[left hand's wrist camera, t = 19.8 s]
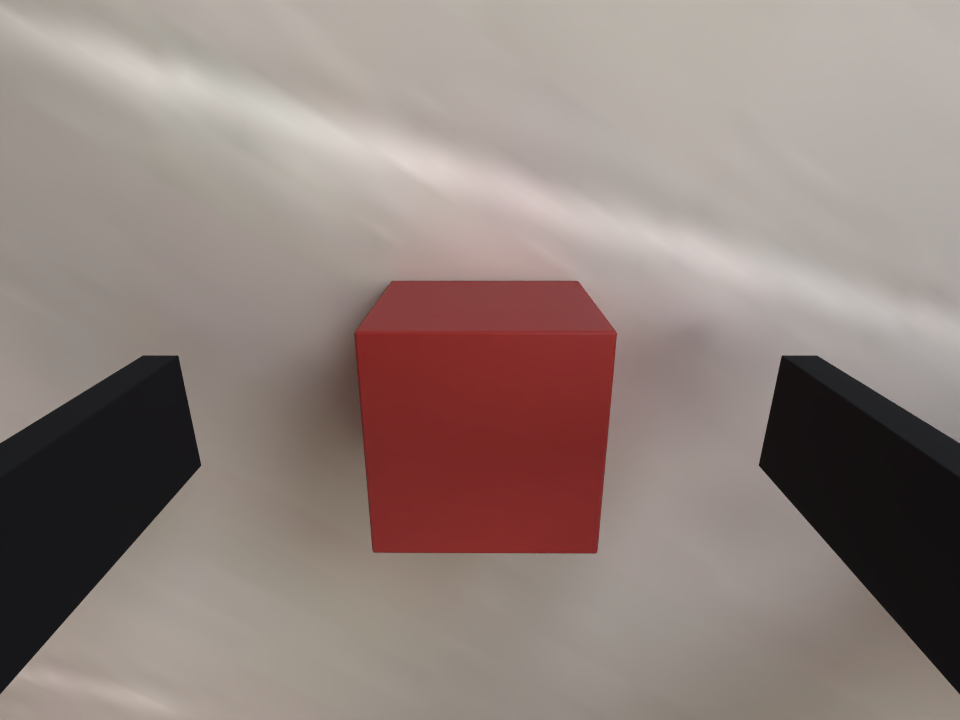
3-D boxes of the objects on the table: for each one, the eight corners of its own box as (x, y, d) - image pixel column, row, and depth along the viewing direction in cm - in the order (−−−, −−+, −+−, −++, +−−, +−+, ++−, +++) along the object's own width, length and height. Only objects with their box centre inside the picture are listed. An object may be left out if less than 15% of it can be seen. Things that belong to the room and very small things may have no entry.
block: (401, 450, 16) (371, 553, 12) (391, 280, 15) (353, 331, 10) (568, 451, 16) (597, 554, 12) (578, 280, 15) (617, 331, 10)
